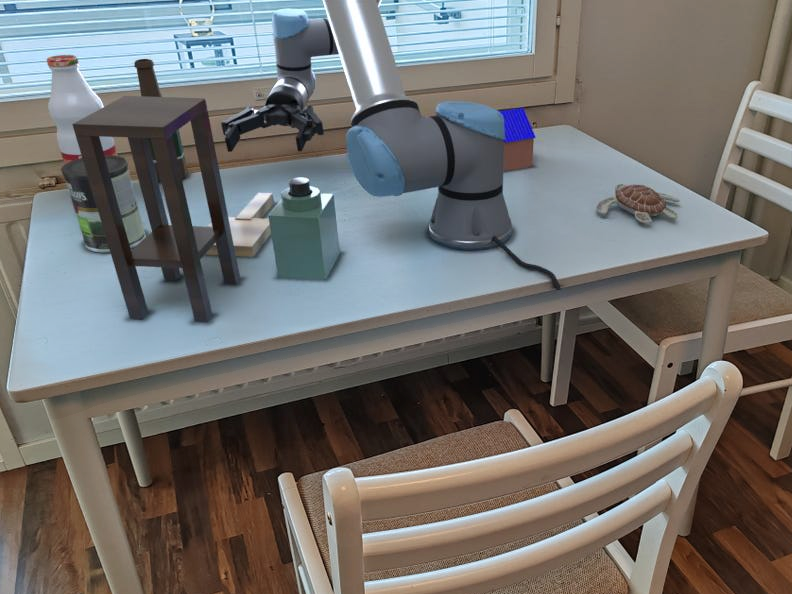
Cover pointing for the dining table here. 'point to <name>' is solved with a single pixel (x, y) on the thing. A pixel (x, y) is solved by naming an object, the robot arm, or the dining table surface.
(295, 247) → the soap bottle
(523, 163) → the house
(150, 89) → the beer bottle
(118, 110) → the plant stand
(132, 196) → the coffee can
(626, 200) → the decorative turtle
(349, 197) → the dining table surface
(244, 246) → the cutting board
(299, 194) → the black bottle cap
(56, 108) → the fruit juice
